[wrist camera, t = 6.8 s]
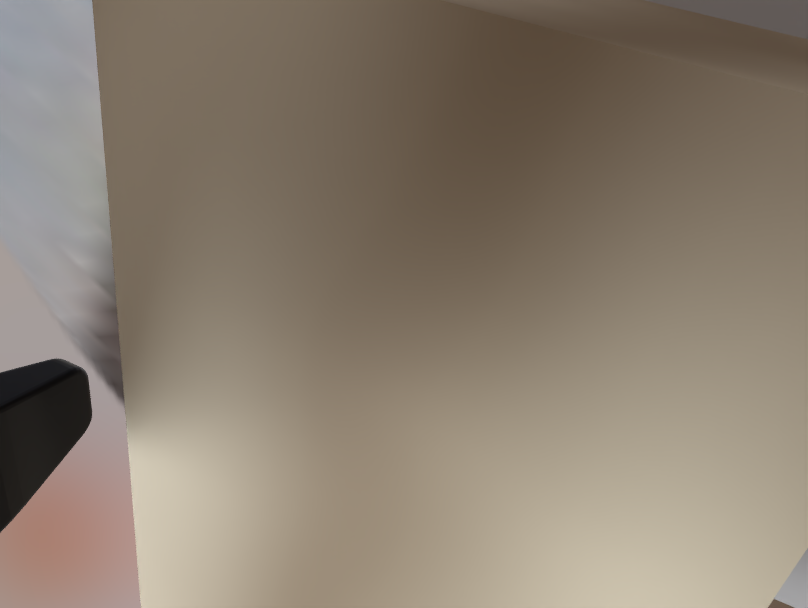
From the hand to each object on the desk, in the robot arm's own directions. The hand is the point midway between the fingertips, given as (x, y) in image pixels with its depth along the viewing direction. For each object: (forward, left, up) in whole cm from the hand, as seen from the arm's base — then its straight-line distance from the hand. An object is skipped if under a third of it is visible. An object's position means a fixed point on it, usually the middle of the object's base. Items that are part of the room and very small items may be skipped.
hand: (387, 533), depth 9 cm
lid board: (0, 0, -2) cm, 2 cm away
